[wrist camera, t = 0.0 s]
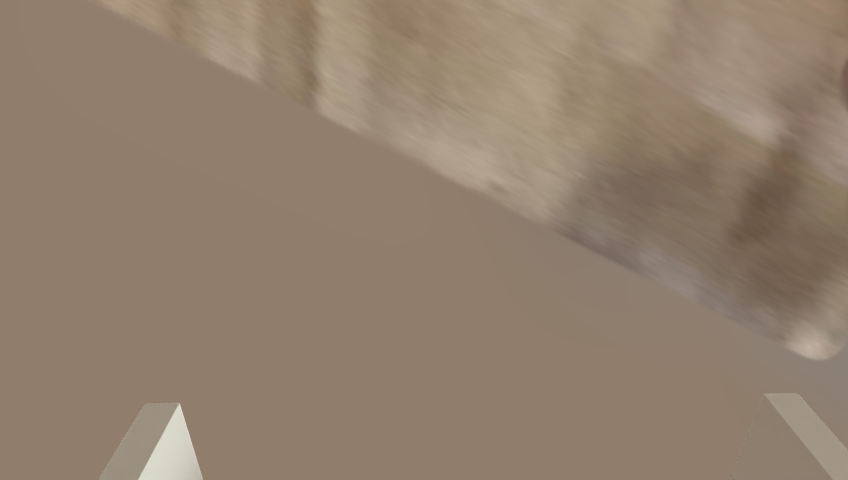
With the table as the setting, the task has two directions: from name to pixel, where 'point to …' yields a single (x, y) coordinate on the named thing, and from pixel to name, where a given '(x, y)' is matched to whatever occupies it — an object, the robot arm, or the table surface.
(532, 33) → the table surface
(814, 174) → the table surface
